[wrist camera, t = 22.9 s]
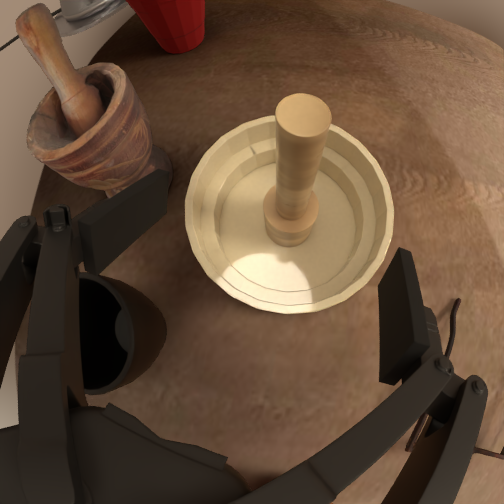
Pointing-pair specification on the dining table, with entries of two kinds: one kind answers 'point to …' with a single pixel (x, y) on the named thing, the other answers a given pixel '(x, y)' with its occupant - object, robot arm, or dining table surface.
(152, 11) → the plastic cup
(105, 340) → the mug
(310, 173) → the muddler
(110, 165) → the mortar and pestle
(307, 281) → the bowl
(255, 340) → the dining table surface
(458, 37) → the dining table surface
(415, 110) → the dining table surface
